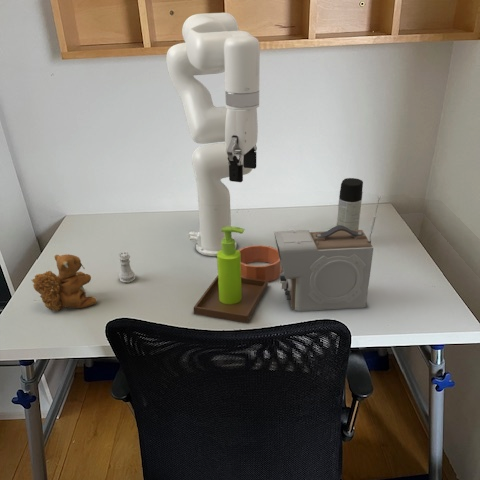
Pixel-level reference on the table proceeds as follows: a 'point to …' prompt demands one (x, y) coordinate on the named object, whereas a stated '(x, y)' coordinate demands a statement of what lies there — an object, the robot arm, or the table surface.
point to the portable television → (325, 267)
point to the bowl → (263, 255)
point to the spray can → (350, 203)
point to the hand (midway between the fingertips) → (243, 174)
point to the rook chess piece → (125, 268)
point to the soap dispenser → (229, 268)
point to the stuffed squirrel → (64, 285)
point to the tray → (237, 312)
